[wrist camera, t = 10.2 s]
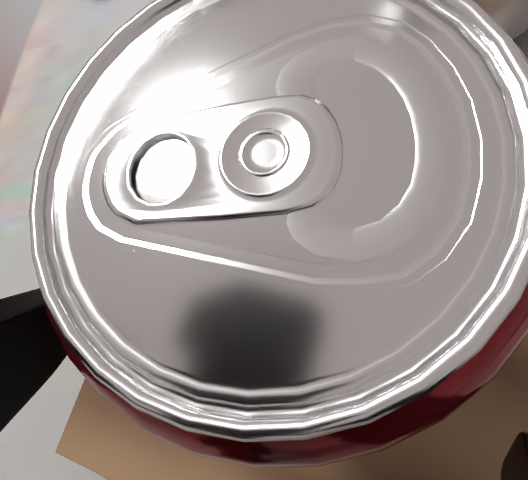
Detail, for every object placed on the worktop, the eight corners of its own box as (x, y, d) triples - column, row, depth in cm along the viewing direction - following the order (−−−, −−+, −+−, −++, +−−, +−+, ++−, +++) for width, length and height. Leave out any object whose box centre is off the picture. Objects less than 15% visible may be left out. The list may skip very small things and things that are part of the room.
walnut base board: (532, 652, 14) (564, 707, 12) (92, 443, 20) (55, 452, 17) (607, 165, 18) (643, 134, 16) (223, 104, 24) (207, 74, 21)
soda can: (427, 211, 17) (540, -122, 6) (443, 412, 15) (679, 524, 3) (246, 219, 18) (56, -24, 7) (237, 401, 16) (-55, 452, 5)
